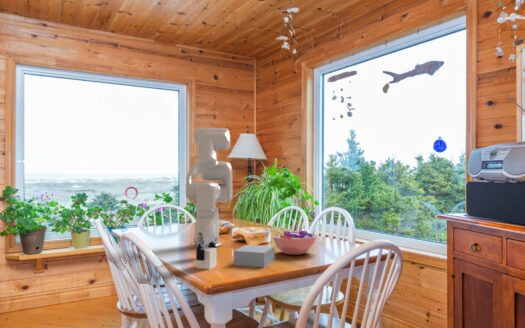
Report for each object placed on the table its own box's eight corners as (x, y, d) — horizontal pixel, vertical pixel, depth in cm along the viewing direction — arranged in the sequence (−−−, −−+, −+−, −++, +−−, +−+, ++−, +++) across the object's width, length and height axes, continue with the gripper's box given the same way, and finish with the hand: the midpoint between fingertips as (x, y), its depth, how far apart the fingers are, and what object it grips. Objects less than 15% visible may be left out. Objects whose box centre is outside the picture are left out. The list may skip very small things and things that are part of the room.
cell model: (273, 250, 181) (272, 226, 181) (315, 249, 181) (314, 225, 181) (272, 258, 164) (272, 232, 164) (319, 258, 164) (319, 231, 164)
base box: (234, 265, 154) (233, 250, 154) (246, 258, 166) (246, 244, 166) (264, 268, 149) (264, 252, 149) (274, 260, 161) (274, 246, 161)
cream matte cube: (196, 268, 149) (195, 250, 150) (203, 264, 155) (203, 247, 155) (209, 269, 148) (209, 251, 148) (216, 265, 153) (216, 248, 153)
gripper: (207, 212, 161) (207, 252, 160) (186, 216, 145) (186, 261, 144) (223, 212, 158) (224, 253, 158) (204, 216, 142) (204, 263, 142)
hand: (206, 257), depth 151 cm, fingers open, 9 cm apart
